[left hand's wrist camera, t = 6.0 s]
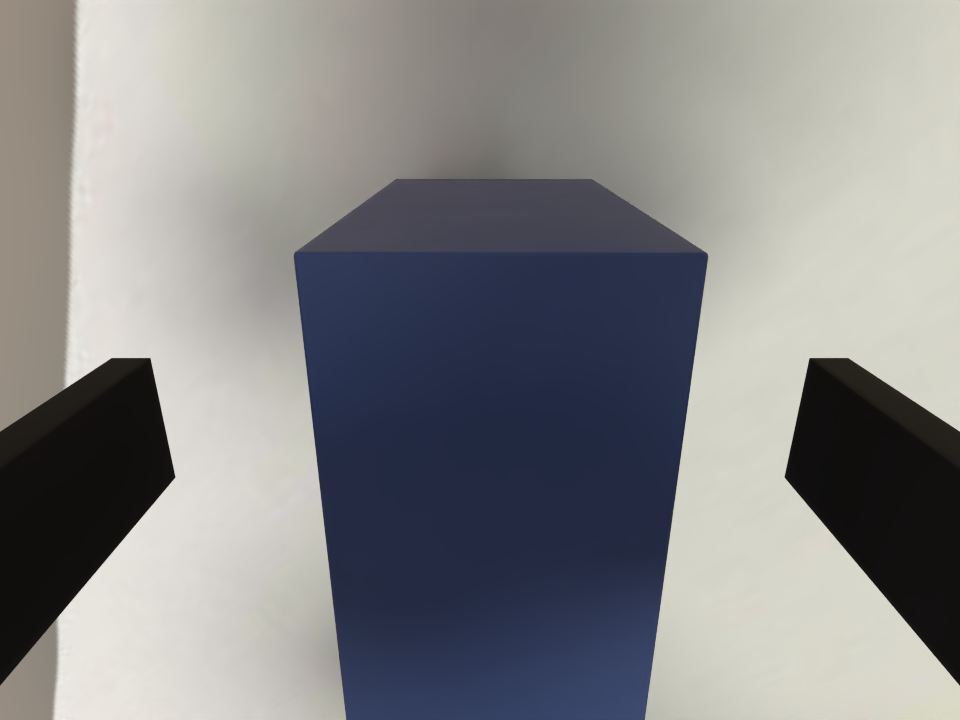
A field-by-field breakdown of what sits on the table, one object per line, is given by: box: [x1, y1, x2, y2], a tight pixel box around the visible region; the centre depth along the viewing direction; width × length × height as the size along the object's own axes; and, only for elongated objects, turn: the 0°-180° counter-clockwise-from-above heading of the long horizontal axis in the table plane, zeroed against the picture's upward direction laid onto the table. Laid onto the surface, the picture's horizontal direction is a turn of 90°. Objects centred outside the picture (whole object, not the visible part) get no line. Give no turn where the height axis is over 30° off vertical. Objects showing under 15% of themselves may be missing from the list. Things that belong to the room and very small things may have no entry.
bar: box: [294, 179, 708, 720], centre depth 17 cm, size 27×5×9 cm, turn 0°
